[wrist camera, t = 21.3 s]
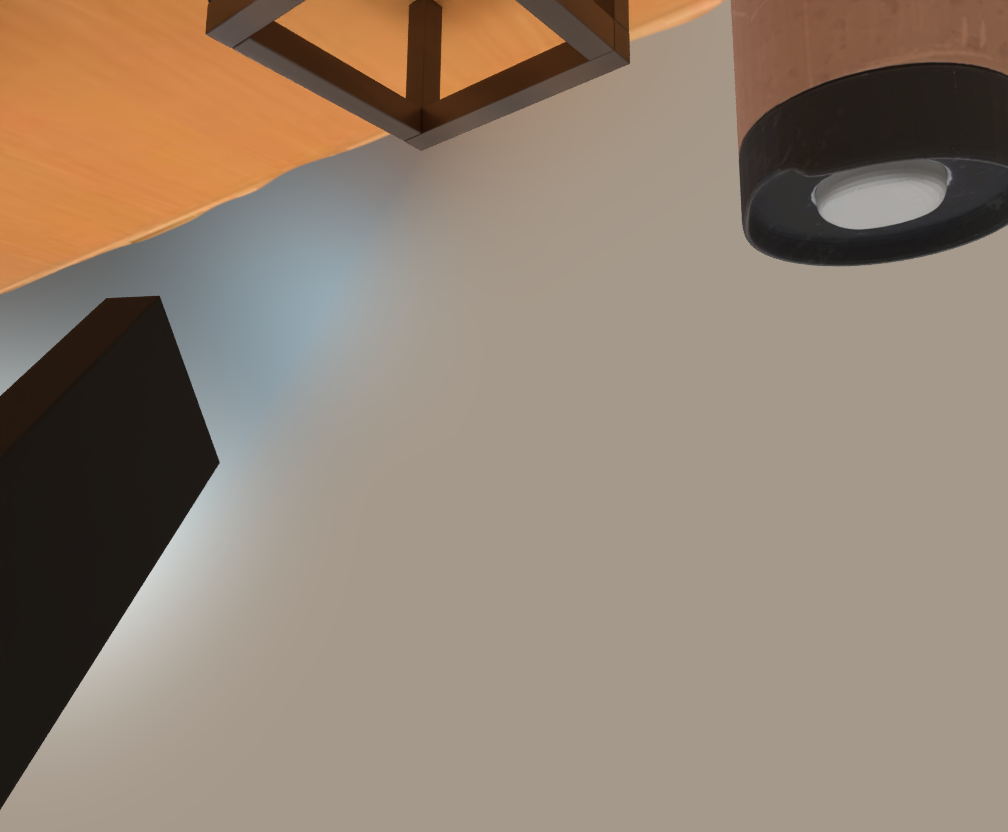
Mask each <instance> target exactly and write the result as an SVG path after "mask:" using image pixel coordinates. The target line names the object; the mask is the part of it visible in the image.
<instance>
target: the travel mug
mask: <svg viewBox="0 0 1008 832" xmlns="http://www.w3.org/2000/svg"><path fill="white" fill-rule="evenodd" d="M731 12H732V30H733V31H732V32H733V50H734V71H735V91H736V111H737V130H738V149H739V170H740V189H741V190H740V191H741V211H742V225H743V230H744V234H745V237H746V239H747V240H748V242H749V243H750V244H751V245H752V246H753V247H754V248H755V249H756V250H758V251H760V252H761V253H764V254H765V255H768V256H770V257H773V258H776V259H779V260H783V261H787V262H793V263H798V264H807V265H817V266H859V265H872V264H881V263H889V262H896V261H902V260H908V259H913V258H918V257H923V256H927V255H932V254H936V253H939V252H943V251H947V250H950V249H953V248H956V247H960V246H962V245H965V244H968V243H971V242H973V241H976V240H979V239H981V238H983V237H985V236H987V235H990V234H992V233H994V232H996V231H998V230H999V229H1001V228H1003V227H1005V226H1006V225H1008V0H731Z"/></svg>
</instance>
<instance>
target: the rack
mask: <svg viewBox="0 0 1008 832" xmlns="http://www.w3.org/2000/svg"><path fill="white" fill-rule="evenodd" d="M304 1H305V0H208V2H209V4H208V9H207V21H206V35H207V36H209V37H211V38H213V39H215V40H217V41H218V42H220V43H222V44H224V45H226V46H228V47H230V48H233V49H234V50H235V51H237V52H239V53H241V54H243V55H245V56H247V57H248V58H250V59H252V60H254V61H256V62H258V63H260V64H262V65H263V66H265V67H267V68H269V69H271V70H273V71H275V72H276V73H278V74H280V75H282V76H284V77H286V78H288V79H289V80H291V81H293V82H295V83H297V84H299V85H301V86H303V87H304V88H306V89H308V90H310V91H312V92H314V93H316V94H317V95H319V96H321V97H323V98H325V99H327V100H329V101H330V102H332V103H334V104H336V105H338V106H340V107H342V108H344V109H345V110H347V111H349V112H351V113H353V114H355V115H357V116H358V117H360V118H362V119H364V120H366V121H368V122H370V123H371V124H373V125H375V126H377V127H379V128H381V129H383V130H384V131H386V132H388V133H390V134H392V135H394V136H396V137H398V138H399V139H401V140H404V141H405V142H406V143H408V144H410V145H412V146H414V147H415V148H417V149H419V150H424V149H427V148H429V147H431V146H434V145H436V144H439V143H441V142H443V141H446V140H448V139H451V138H453V137H455V136H458V135H460V134H463V133H465V132H467V131H470V130H472V129H474V128H477V127H479V126H482V125H484V124H487V123H489V122H491V121H493V120H496V119H499V118H501V117H503V116H506V115H508V114H511V113H513V112H515V111H518V110H520V109H522V108H525V107H527V106H530V105H532V104H534V103H537V102H539V101H542V100H544V99H546V98H548V97H551V96H553V95H556V94H558V93H561V92H563V91H565V90H568V89H570V88H573V87H575V86H577V85H580V84H582V83H585V82H587V81H590V80H592V79H594V78H597V77H599V76H601V75H604V74H606V73H609V72H611V71H613V70H616V69H618V68H621V67H623V66H626V65H628V64H630V49H629V48H630V45H629V44H630V43H629V3H628V0H516V1H517V2H518V3H520V4H521V5H522V6H523V7H524V8H526V9H527V10H528V11H529V12H531V13H532V14H533V15H534V16H535V17H537V18H538V19H539V20H540V21H542V22H543V23H544V24H545V25H547V26H548V27H549V28H550V29H551V30H553V31H554V32H555V33H556V34H558V35H559V36H560V37H561V38H562V39H564V40H565V41H566V42H565V43H562V44H560V45H558V46H556V47H554V48H552V49H549V50H547V51H545V52H543V53H541V54H538V55H536V56H534V57H532V58H530V59H528V60H525V61H523V62H521V63H519V64H517V65H515V66H512V67H510V68H508V69H506V70H504V71H502V72H499V73H497V74H495V75H493V76H491V77H488V78H486V79H484V80H482V81H480V82H478V83H475V84H473V85H471V86H469V87H467V88H465V89H462V90H460V91H458V92H456V93H454V94H452V95H449V96H447V97H445V98H443V99H441V100H440V71H441V35H442V7H440V6H439V5H438V4H436V3H435V2H433V1H432V0H418V1H416V2H415V3H413V4H411V5H410V6H409V24H408V52H407V81H406V98H404V97H402V96H400V95H399V94H397V93H395V92H394V91H392V90H390V89H389V88H387V87H385V86H383V85H382V84H380V83H378V82H377V81H375V80H373V79H372V78H370V77H368V76H367V75H365V74H363V73H361V72H360V71H358V70H356V69H355V68H353V67H351V66H350V65H348V64H346V63H344V62H343V61H341V60H339V59H338V58H336V57H334V56H333V55H331V54H329V53H327V52H326V51H324V50H322V49H321V48H319V47H317V46H316V45H314V44H312V43H310V42H309V41H307V40H305V39H304V38H302V37H300V36H299V35H297V34H295V33H294V32H292V31H290V30H288V29H287V28H285V27H283V26H282V25H280V24H278V23H277V22H275V21H274V20H276V19H277V18H279V17H280V16H282V15H283V14H285V13H287V12H288V11H290V10H291V9H293V8H294V7H296V6H297V5H299V4H301V3H302V2H304Z"/></svg>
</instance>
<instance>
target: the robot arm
mask: <svg viewBox="0 0 1008 832" xmlns="http://www.w3.org/2000/svg"><path fill="white" fill-rule="evenodd" d="M219 463H220V462H219V459H218V456H217V454H216V451H215V448H214V445H213V443H212V440H211V437H210V434H209V431H208V429H207V426H206V423H205V420H204V418H203V415H202V412H201V409H200V407H199V404H198V401H197V398H196V396H195V393H194V390H193V387H192V384H191V382H190V379H189V376H188V373H187V370H186V368H185V365H184V362H183V359H182V357H181V354H180V351H179V348H178V346H177V343H176V340H175V337H174V334H173V332H172V329H171V326H170V323H169V321H168V318H167V315H166V312H165V310H164V307H163V304H162V301H161V298H160V296H144V297H122V298H106V299H105V300H104V301H103V302H102V303H101V304H99V305H98V306H97V307H96V308H95V309H94V310H93V311H92V312H91V313H90V314H89V315H88V316H86V317H85V318H84V319H83V320H82V321H81V322H80V323H79V324H78V325H77V326H76V327H75V328H73V329H72V330H71V331H70V332H69V333H68V334H67V335H66V336H65V337H64V338H63V339H62V340H60V342H58V343H57V344H56V345H55V346H54V347H53V348H52V349H51V350H50V351H49V352H47V353H46V354H45V355H44V356H43V357H42V358H41V359H40V360H39V361H38V362H37V363H36V364H34V365H33V366H32V367H31V368H30V369H29V370H28V371H27V372H26V373H25V374H24V375H23V376H21V377H20V378H19V379H18V380H17V381H16V382H15V383H14V384H13V385H12V386H11V387H10V388H9V389H7V390H6V391H5V392H4V393H3V394H2V395H1V396H0V809H1V807H2V806H3V805H4V803H5V801H6V800H7V798H8V797H9V795H10V793H11V792H12V790H13V789H14V787H15V785H16V784H17V782H18V781H19V779H20V778H21V776H22V774H23V773H24V771H25V770H26V768H27V767H28V765H29V763H30V762H31V760H32V759H33V757H34V755H35V754H36V752H37V751H38V749H39V748H40V746H41V744H42V743H43V741H44V740H45V738H46V737H47V734H48V733H49V732H50V730H51V729H52V727H53V725H54V724H55V722H56V721H57V719H58V718H59V716H60V714H61V713H62V711H63V710H64V708H65V707H66V705H67V703H68V702H69V700H70V698H71V697H72V695H73V694H74V692H75V691H76V689H77V688H78V686H79V684H80V683H81V681H82V680H83V678H84V676H85V675H86V673H87V672H88V670H89V669H90V667H91V665H92V664H93V662H94V661H95V659H96V657H97V656H98V654H99V653H100V651H101V650H102V648H103V646H104V645H105V643H106V642H107V640H108V639H109V637H110V635H111V634H112V632H113V631H114V629H115V627H116V626H117V624H118V623H119V621H120V620H121V618H122V616H123V615H124V613H125V612H126V610H127V608H128V607H129V605H130V604H131V602H132V601H133V599H134V597H135V596H136V594H137V593H138V591H139V589H140V588H141V586H142V585H143V583H144V582H145V580H146V578H147V577H148V575H149V573H150V572H151V571H152V569H153V567H154V566H155V564H156V563H157V561H158V560H159V558H160V556H161V555H162V553H163V552H164V550H165V548H166V547H167V545H168V544H169V542H170V541H171V539H172V537H173V536H174V534H175V533H176V531H177V529H178V528H179V526H180V525H181V523H182V522H183V520H184V518H185V517H186V515H187V514H188V512H189V510H190V509H191V507H192V506H193V504H194V503H195V501H196V499H197V498H198V496H199V495H200V493H201V491H202V490H203V488H204V487H205V485H206V483H207V481H208V480H209V479H210V477H211V476H212V474H213V473H214V471H215V469H216V468H217V466H218V465H219Z"/></svg>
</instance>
